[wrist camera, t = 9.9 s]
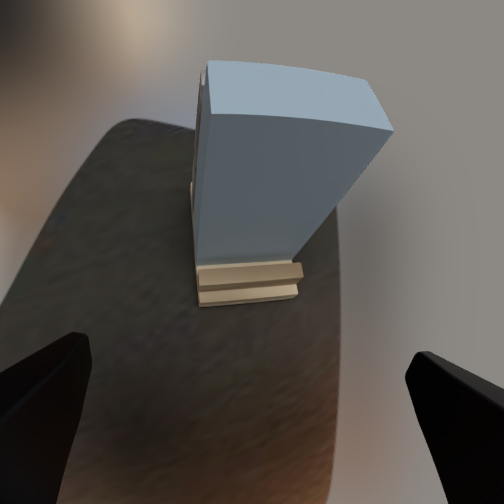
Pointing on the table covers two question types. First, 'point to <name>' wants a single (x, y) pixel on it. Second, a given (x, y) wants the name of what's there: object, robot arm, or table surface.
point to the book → (277, 156)
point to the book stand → (241, 274)
